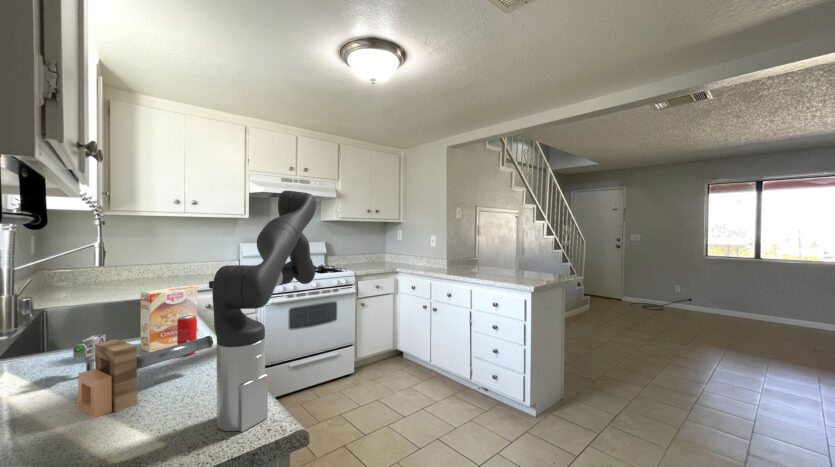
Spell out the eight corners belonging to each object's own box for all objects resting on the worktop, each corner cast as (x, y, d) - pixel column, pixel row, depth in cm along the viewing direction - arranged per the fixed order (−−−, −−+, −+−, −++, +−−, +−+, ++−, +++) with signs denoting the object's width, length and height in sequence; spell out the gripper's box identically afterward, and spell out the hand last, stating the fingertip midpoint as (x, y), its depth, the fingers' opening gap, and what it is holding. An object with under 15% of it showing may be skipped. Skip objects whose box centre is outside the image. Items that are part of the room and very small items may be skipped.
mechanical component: (70, 384, 90) (70, 346, 90) (95, 368, 100) (95, 334, 99) (84, 383, 91) (84, 345, 90) (107, 367, 100) (107, 333, 100)
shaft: (206, 346, 101) (206, 334, 101) (213, 348, 99) (213, 336, 99) (116, 373, 82) (116, 358, 82) (123, 376, 81) (123, 361, 81)
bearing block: (136, 403, 80) (136, 345, 80) (115, 411, 77) (115, 351, 76) (116, 393, 85) (116, 339, 85) (95, 401, 81) (95, 343, 81)
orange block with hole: (111, 411, 77) (111, 376, 77) (94, 418, 74) (94, 381, 74) (95, 402, 81) (95, 369, 81) (78, 408, 78) (78, 373, 78)
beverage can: (173, 355, 111) (173, 317, 111) (190, 350, 115) (190, 314, 115) (183, 358, 108) (183, 319, 108) (200, 352, 113) (199, 316, 113)
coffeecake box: (149, 353, 112) (149, 293, 111) (139, 349, 115) (139, 291, 115) (198, 340, 125) (198, 286, 124) (187, 337, 128) (187, 285, 128)
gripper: (250, 265, 120) (203, 272, 105) (279, 268, 113) (233, 275, 99) (250, 287, 120) (203, 296, 105) (279, 291, 113) (234, 301, 99)
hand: (218, 286), depth 102 cm, fingers open, 8 cm apart
